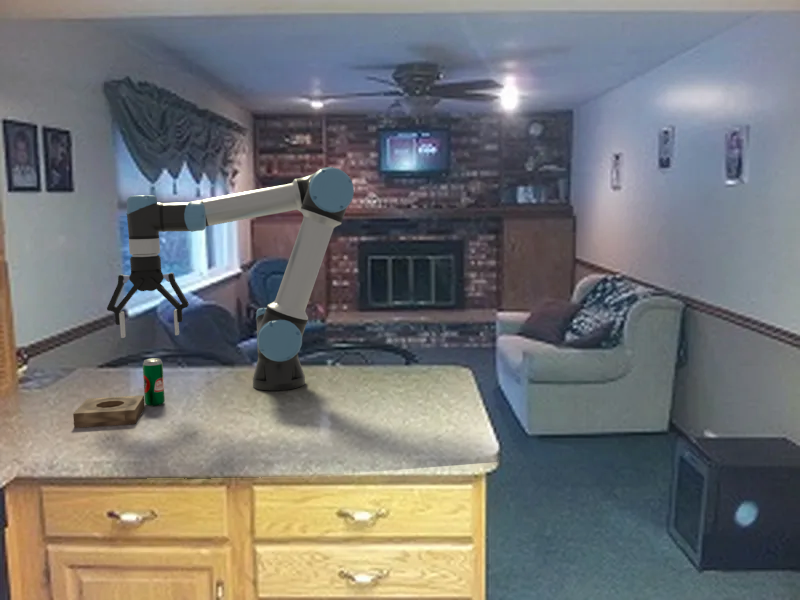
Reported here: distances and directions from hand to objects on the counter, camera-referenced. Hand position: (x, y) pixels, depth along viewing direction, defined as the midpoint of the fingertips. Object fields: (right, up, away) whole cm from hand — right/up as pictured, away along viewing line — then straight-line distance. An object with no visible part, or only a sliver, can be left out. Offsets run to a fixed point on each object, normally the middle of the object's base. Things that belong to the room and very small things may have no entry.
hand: (150, 335), depth 193 cm
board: (-6, -20, -10) cm, 23 cm away
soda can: (0, -19, +2) cm, 19 cm away
